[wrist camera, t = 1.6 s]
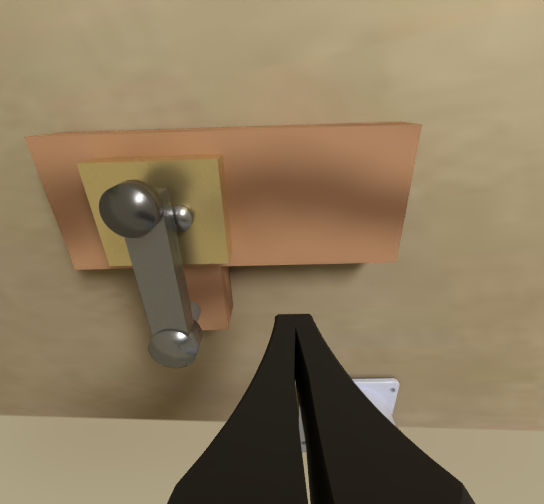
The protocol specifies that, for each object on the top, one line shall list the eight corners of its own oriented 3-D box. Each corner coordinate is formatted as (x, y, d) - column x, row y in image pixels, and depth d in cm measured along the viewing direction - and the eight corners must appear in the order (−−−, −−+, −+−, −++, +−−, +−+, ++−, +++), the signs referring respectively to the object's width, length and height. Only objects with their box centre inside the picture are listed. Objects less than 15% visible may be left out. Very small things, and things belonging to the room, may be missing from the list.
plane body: (372, 302, 20) (394, 348, 16) (118, 307, 21) (82, 353, 17) (399, 121, 15) (443, 127, 11) (60, 132, 15) (-11, 141, 12)
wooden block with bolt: (232, 250, 16) (227, 267, 14) (123, 252, 16) (105, 270, 14) (222, 154, 13) (215, 160, 12) (95, 157, 14) (70, 164, 12)
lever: (205, 347, 16) (195, 380, 14) (163, 348, 16) (148, 381, 14) (173, 171, 12) (154, 184, 10) (116, 173, 12) (85, 186, 10)
